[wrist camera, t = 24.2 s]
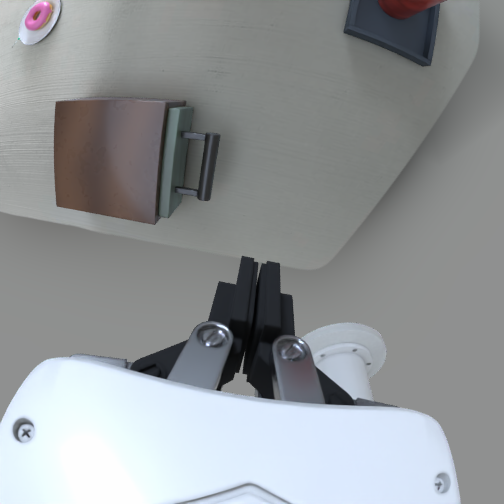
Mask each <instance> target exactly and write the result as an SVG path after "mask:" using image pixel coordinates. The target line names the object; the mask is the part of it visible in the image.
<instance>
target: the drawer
mask: <svg viewBox="0 0 504 504" xmlns="http://www.w3.org/2000/svg"><path fill="white" fill-rule="evenodd" d="M192 113H193V107H184V106H183V107H174V108H169V110H168V111H167V118H166V125H165V133H164V142H163V151H162V161H161V172H160V185H159V213H158V216H160V217H165V218H169V217H170V216H171V214H172V213H173V212H174V211H175V209H176V208H177V207H178V206H179V204H180V203H181V199H182V194H186V195H192V196H197V195H198V196H197V198H198V199H199V200H202V201H209V200H210V198H211V191H212V185H213V178H214V172H215V165H216V159H217V153H218V147H219V141H220V134H217V133H206V134H201V133H194V132H190V126H191V120H192ZM189 139H197V140H203V141H205V145H204V152H203V159H202V166H201V173H200V180H199V188H198V190H197V189H192V188H186V187H183V180H184V171H185V163H186V155H187V148H188V140H189Z"/></svg>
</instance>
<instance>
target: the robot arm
mask: <svg viewBox="0 0 504 504" xmlns="http://www.w3.org/2000/svg"><path fill="white" fill-rule="evenodd" d="M257 272H258V262H254V258H250V257H245V256H242V258H241V264H240V269H239V274H238V278H237V283H236V285H235V284H230V283H225V282H220V281H219V283H218V286H217V290H216V294H215V297H214V301H213V305H212V309H211V312H210V316H209V319H208V321H206V322H202V323H200V324H199V325H197V326H196V327H195V328H194V330H193V332H192V333H191V335H190V337H189V339H188V340H186V341H184V342H181V343H179V344H176V345H174V346H171V347H169V348H166V349H164V350H161V351H159V352H156V353H154V354H151V355H148V356H146V357H143V358H140V359H139V360H137V361H135V362H134V363H133V362H127V359H119V358H110V357H102V356H95V355H87V354H74V355H72V356H70V357H59V358H52V359H48V360H45V361H43V362H42V363H40V364H39V365H38V366H36V367H35V368H34V369H33V370H32V372H31V373H30V374H29V375H28V377H27V378H26V379H25V381H24V382H23V383H22V385H21V386H20V388H19V389H18V391H17V393H16V395H15V396H14V398H13V400H12V401H11V403H10V405H9V407H8V409H7V411H6V413H5V415H4V417H3V419H2V421H1V423H0V504H461V501H460V493H459V487H458V481H457V476H456V471H455V466H454V462H453V458H452V455H451V451H450V448H449V445H448V442H447V439H446V437H445V434H444V432H443V430H442V428H441V426H440V425H439V423H438V422H437V421H436V420H435V419H433V418H432V417H430V416H428V415H426V414H424V413H421V412H418V411H415V410H410V409H406V408H400V407H397V406H393V405H388V404H384V403H379V402H374V401H373V396H372V392H371V388H370V383H369V379H368V375H367V373H368V372H369V370H370V369H371V367H372V364H373V359H372V355H371V353H370V351H369V350H368V349H367V348H366V347H364V346H362V345H360V344H356V343H338V344H333V345H330V346H327V347H324V348H322V349H320V350H318V351H317V352H315V353H314V354H312V353H311V350H310V347H309V345H308V344H307V343H306V342H305V341H304V340H302V339H301V338H299V337H296V336H295V330H294V314H293V299H292V295H287V294H282V293H280V263H275V262H270V261H267V263H266V264H263V263H262V265H261V269H260V273H259V277H258V281H257ZM256 282H257V285H256ZM244 352H245V356H244ZM243 356H244V365H243V374H247V382H249V383H250V384H251V385H252V386H253V387H254V388H255V397H250V396H244V395H238V394H232V393H226V392H221V391H222V387H223V385H224V384H226V383H228V382H230V381H231V380H233V378H234V374H235V373H239V370H240V367H241V363H242V359H243Z"/></svg>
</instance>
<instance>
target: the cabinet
mask: <svg viewBox="0 0 504 504" xmlns="http://www.w3.org/2000/svg"><path fill="white" fill-rule="evenodd" d="M185 105H186V101H180V100H169V99H154V98H132V97H88V98H79V99H71V100H64V101H57V102H56V106H55V124H54V173H55V191H56V204H57V206H58V207H63V208H69V209H74V210H79V211H85V212H90V213H95V214H101V215H106V216H111V217H116V218H122V219H127V220H132V221H137V222H143V223H148V224H153V225H155V224H156V223H157V221H158V220H159V219H160V218H161V217H160V216H158V213H159V185H160V172H161V161H162V151H163V142H164V133H165V125H166V118H167V111H168V110H169V108H174V107H183V106H184V107H185Z"/></svg>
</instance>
